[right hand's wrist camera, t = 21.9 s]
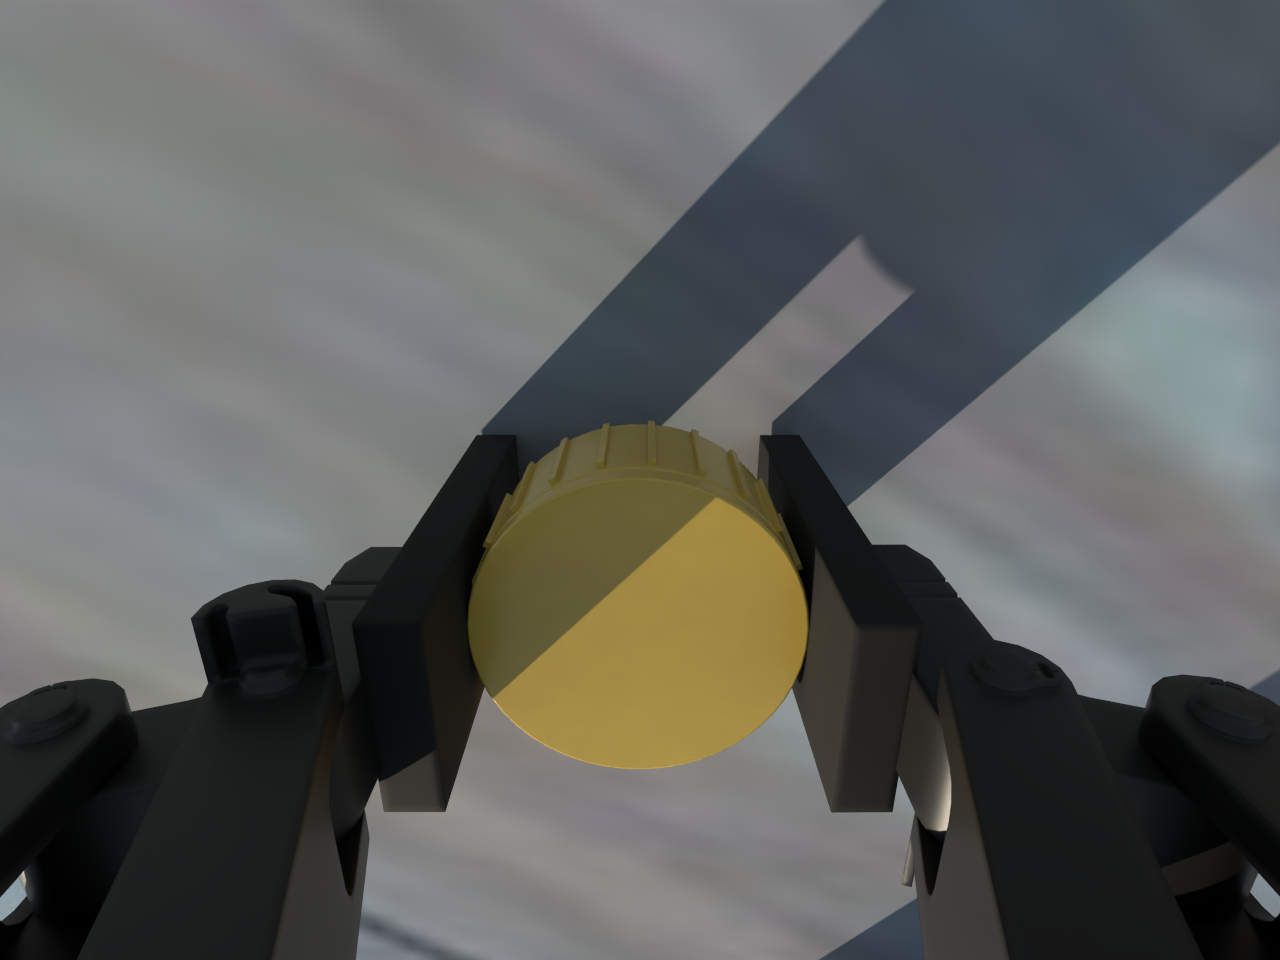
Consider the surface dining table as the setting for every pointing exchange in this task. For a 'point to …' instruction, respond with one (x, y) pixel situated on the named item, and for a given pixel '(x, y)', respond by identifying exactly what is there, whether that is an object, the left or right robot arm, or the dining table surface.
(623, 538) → the lid
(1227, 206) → the dining table surface
